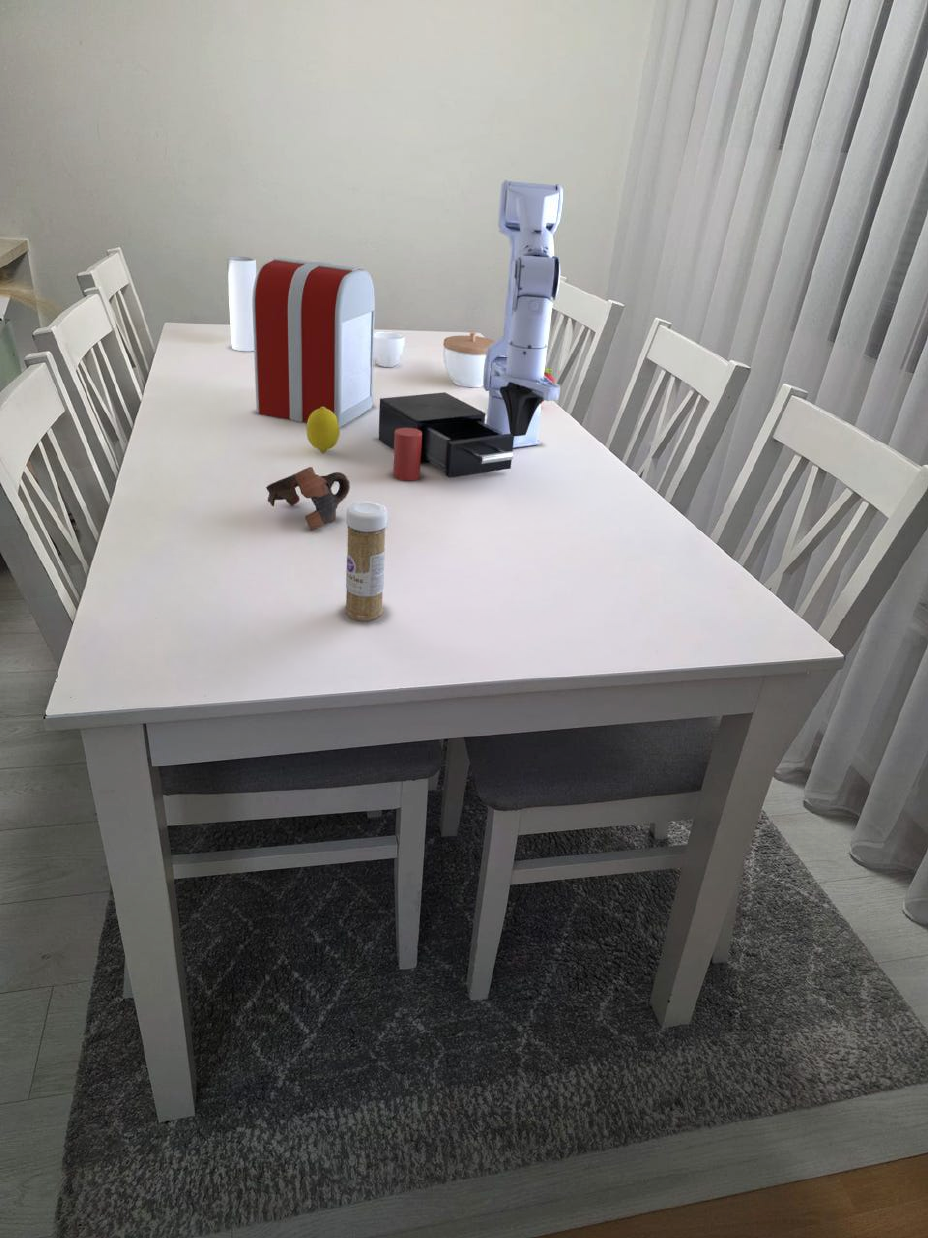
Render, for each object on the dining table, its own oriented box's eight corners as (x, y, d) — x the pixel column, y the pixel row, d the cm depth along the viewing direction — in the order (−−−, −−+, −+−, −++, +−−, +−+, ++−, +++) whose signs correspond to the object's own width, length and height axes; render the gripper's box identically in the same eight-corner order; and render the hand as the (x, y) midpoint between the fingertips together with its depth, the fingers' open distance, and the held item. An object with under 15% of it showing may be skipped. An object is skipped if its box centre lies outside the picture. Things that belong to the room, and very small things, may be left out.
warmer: (481, 454, 157) (485, 413, 154) (415, 464, 151) (417, 420, 147) (442, 431, 167) (444, 392, 163) (378, 439, 160) (379, 398, 157)
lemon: (333, 459, 149) (333, 413, 145) (302, 455, 150) (301, 409, 146) (343, 449, 154) (344, 404, 150) (313, 445, 155) (312, 400, 151)
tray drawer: (526, 477, 146) (530, 443, 144) (463, 487, 140) (466, 452, 137) (471, 445, 159) (473, 413, 156) (410, 453, 152) (412, 420, 150)
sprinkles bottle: (337, 612, 105) (337, 506, 98) (364, 599, 108) (367, 496, 101) (364, 626, 102) (366, 519, 96) (391, 613, 105) (396, 508, 99)
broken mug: (295, 540, 122) (269, 484, 120) (277, 542, 130) (253, 491, 129) (369, 505, 127) (345, 451, 125) (347, 510, 135) (324, 459, 133)
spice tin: (411, 469, 148) (413, 426, 144) (424, 478, 145) (427, 434, 141) (388, 473, 146) (389, 429, 142) (401, 482, 143) (403, 437, 139)
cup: (406, 369, 205) (407, 339, 202) (363, 368, 202) (364, 338, 199) (400, 360, 211) (401, 331, 208) (358, 360, 209) (359, 330, 205)
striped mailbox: (338, 428, 164) (339, 274, 151) (253, 412, 168) (247, 261, 155) (374, 406, 178) (378, 263, 165) (295, 392, 182) (293, 252, 169)
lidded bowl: (506, 383, 201) (511, 333, 196) (478, 394, 192) (482, 342, 186) (460, 372, 207) (464, 323, 201) (430, 382, 197) (433, 331, 192)
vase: (232, 351, 208) (227, 260, 198) (231, 343, 214) (226, 255, 204) (280, 352, 211) (278, 262, 201) (279, 344, 217) (276, 257, 207)
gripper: (477, 334, 132) (470, 423, 139) (535, 357, 122) (524, 452, 128) (516, 332, 136) (507, 418, 142) (575, 354, 125) (562, 447, 132)
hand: (518, 434), depth 136 cm, fingers closed
